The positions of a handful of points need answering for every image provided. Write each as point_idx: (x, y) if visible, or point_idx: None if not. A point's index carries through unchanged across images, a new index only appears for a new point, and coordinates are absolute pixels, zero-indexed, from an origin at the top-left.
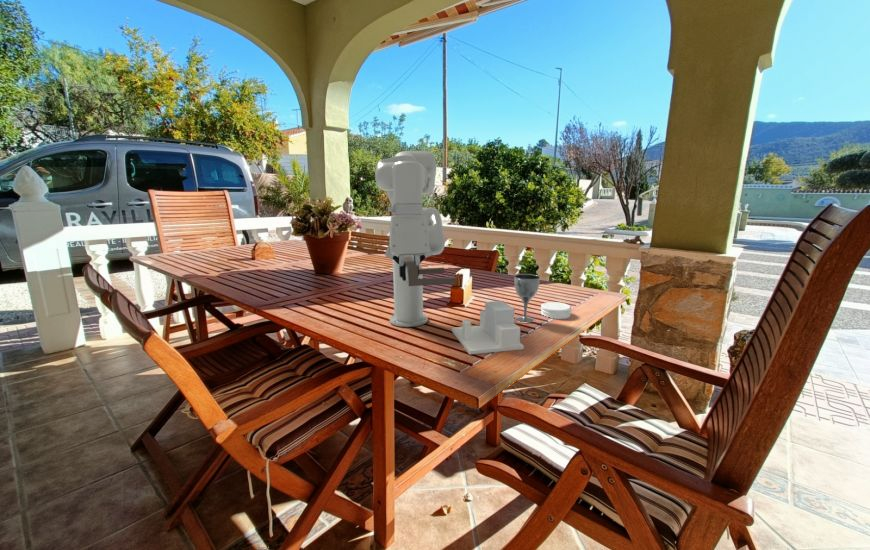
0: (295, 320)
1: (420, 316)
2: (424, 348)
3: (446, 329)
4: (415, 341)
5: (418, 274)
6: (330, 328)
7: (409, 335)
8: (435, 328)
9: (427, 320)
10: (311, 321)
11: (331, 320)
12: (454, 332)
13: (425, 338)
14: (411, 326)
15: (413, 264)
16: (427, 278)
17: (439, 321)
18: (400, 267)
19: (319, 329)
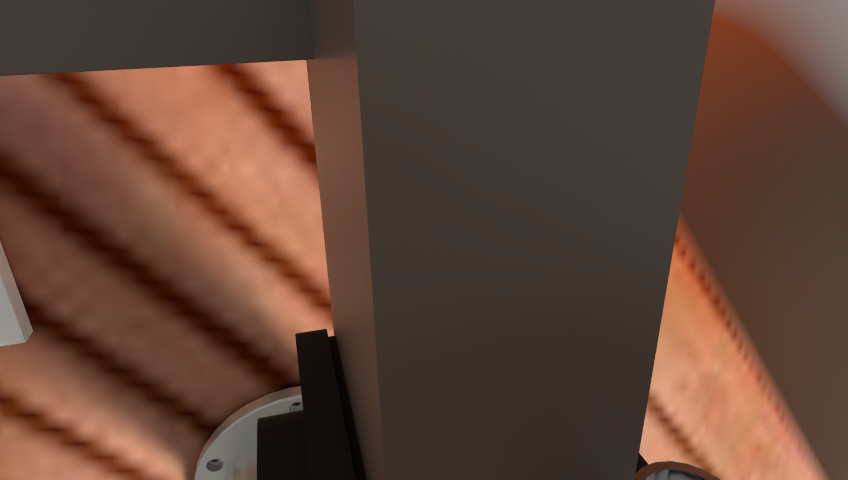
0: (782, 456)
1: (238, 468)
2: (229, 70)
3: (71, 353)
4: (282, 185)
5: (264, 428)
6: (674, 375)
7: (313, 275)
8: (147, 369)
9: (196, 468)
10: (731, 448)
11: (658, 461)
12: (4, 275)
13: (217, 224)
14: (296, 387)
15: (462, 322)
16: (53, 63)
17: (119, 469)
18: (641, 466)
19: (716, 365)
